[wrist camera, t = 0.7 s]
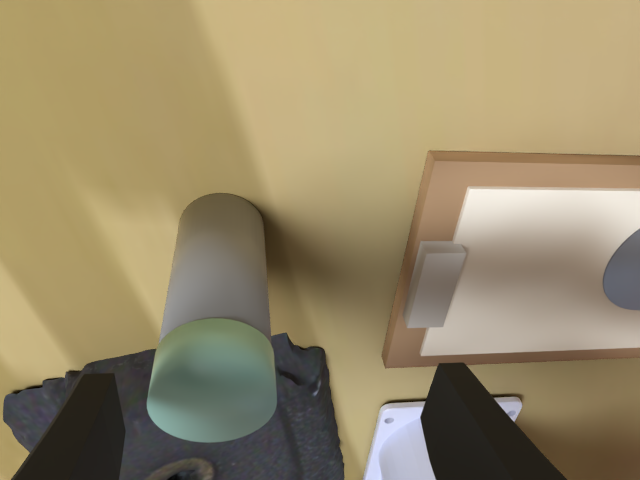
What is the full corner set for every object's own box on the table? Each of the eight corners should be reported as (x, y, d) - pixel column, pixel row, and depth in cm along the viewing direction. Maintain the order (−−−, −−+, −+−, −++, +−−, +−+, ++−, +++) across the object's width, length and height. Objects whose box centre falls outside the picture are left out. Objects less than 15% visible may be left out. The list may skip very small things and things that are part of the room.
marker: (264, 262, 21) (274, 438, 15) (180, 263, 20) (153, 446, 14) (266, 192, 19) (279, 359, 13) (174, 191, 19) (139, 365, 12)
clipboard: (654, 344, 27) (674, 368, 26) (381, 355, 25) (389, 381, 24) (778, 159, 21) (813, 178, 20) (428, 150, 19) (442, 171, 18)
